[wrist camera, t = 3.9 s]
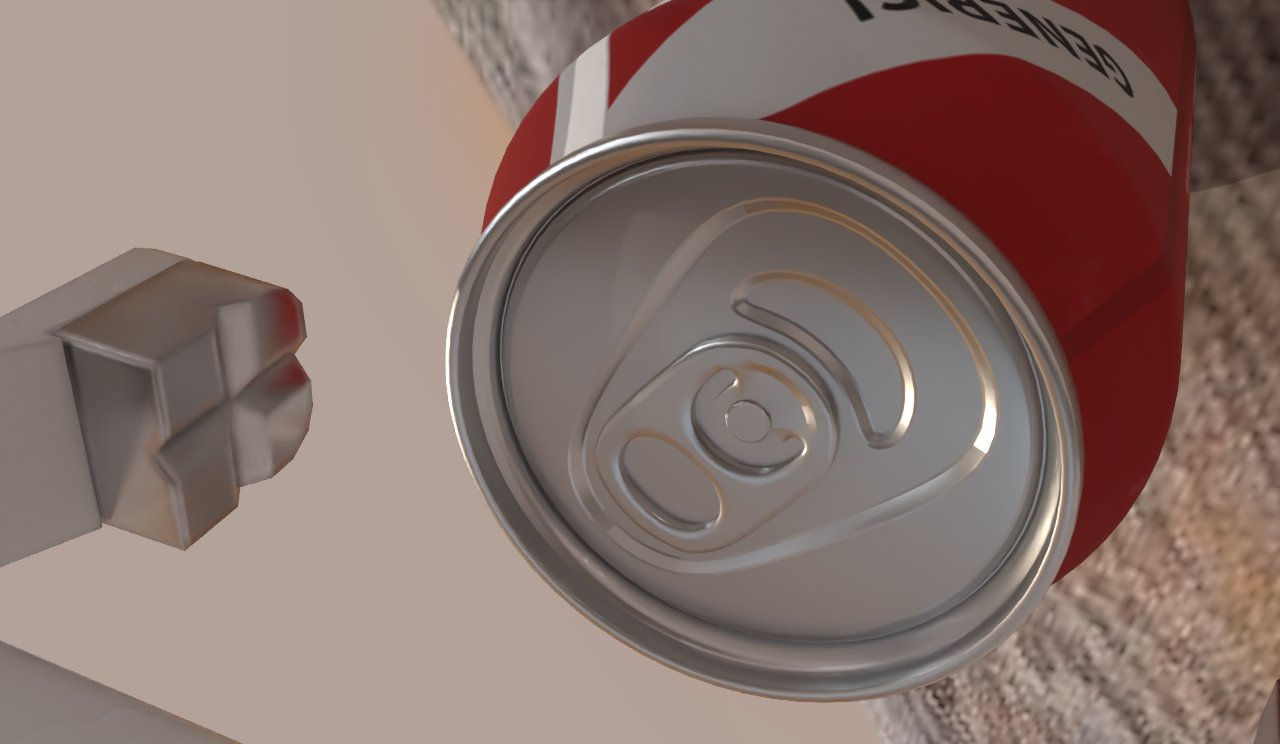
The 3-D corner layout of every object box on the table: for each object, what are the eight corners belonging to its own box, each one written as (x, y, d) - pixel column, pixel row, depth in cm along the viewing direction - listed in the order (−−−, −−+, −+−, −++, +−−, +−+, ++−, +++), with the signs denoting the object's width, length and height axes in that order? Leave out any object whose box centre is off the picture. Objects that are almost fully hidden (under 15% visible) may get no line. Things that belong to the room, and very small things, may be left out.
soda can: (1298, 74, 18) (1392, 549, 8) (954, 328, 22) (750, 845, 12) (986, -266, 17) (700, -179, 8) (693, 59, 21) (268, 379, 12)
